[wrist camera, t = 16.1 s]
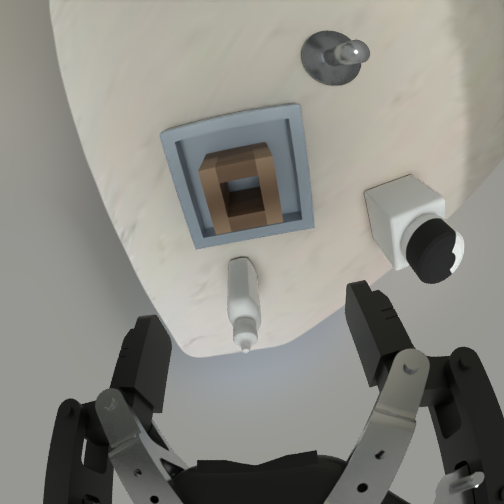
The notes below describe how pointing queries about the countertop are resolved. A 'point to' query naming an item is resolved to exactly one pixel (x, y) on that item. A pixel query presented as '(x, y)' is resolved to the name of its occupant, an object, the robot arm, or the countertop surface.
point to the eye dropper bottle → (243, 302)
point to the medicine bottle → (414, 228)
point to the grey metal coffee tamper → (333, 57)
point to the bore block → (242, 201)
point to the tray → (236, 135)
